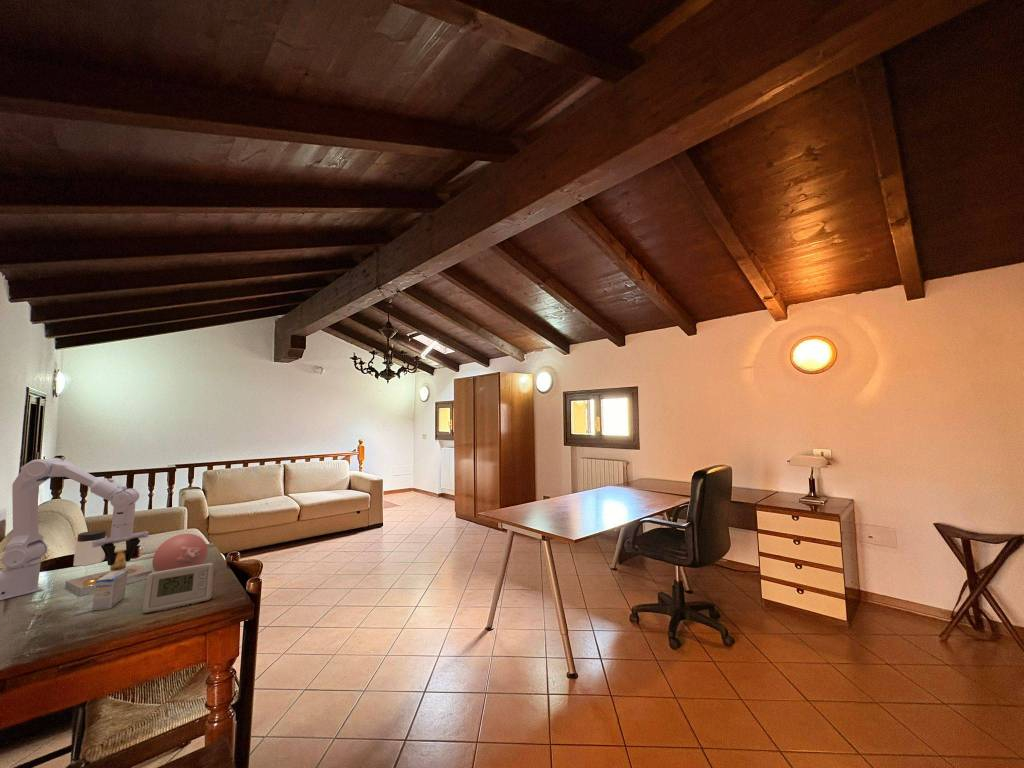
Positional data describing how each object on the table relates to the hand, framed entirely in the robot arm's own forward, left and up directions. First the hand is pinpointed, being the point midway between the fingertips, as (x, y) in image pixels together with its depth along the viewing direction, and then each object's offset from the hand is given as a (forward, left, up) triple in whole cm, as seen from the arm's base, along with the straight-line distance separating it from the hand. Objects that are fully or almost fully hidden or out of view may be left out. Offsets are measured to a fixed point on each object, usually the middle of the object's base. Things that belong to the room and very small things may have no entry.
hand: (118, 562), depth 140 cm
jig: (-2, 0, -6) cm, 7 cm away
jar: (+3, +38, -6) cm, 38 cm away
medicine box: (-9, -23, -6) cm, 26 cm away
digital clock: (+1, -44, -6) cm, 44 cm away
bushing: (0, 0, -2) cm, 2 cm away
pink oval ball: (+11, -19, -6) cm, 23 cm away
